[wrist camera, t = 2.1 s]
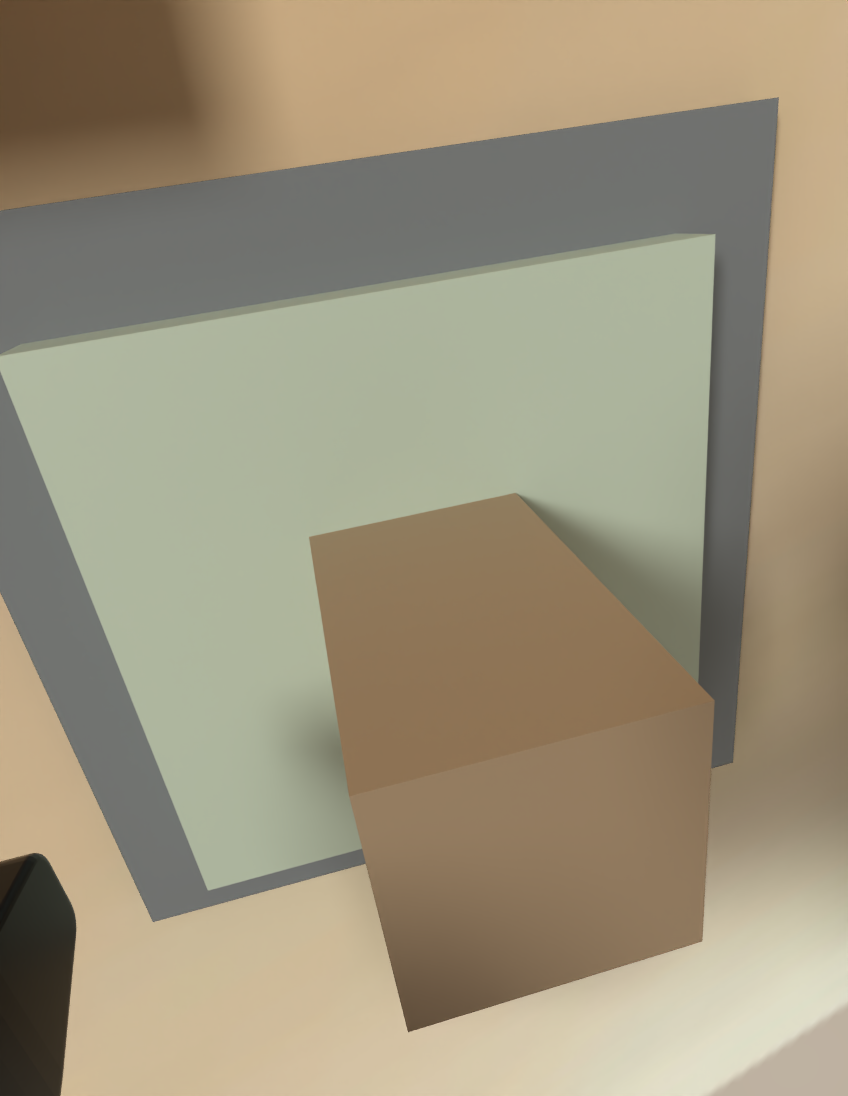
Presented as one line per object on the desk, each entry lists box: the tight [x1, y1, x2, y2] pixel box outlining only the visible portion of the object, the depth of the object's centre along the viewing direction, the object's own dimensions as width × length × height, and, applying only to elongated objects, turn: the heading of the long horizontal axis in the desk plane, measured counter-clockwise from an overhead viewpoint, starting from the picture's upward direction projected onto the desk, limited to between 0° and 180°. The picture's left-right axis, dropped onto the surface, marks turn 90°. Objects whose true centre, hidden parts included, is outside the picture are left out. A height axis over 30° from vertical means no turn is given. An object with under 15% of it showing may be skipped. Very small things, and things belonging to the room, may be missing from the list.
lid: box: [0, 234, 715, 1032], centre depth 9 cm, size 9×9×6 cm
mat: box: [0, 97, 779, 922], centre depth 12 cm, size 12×12×1 cm
